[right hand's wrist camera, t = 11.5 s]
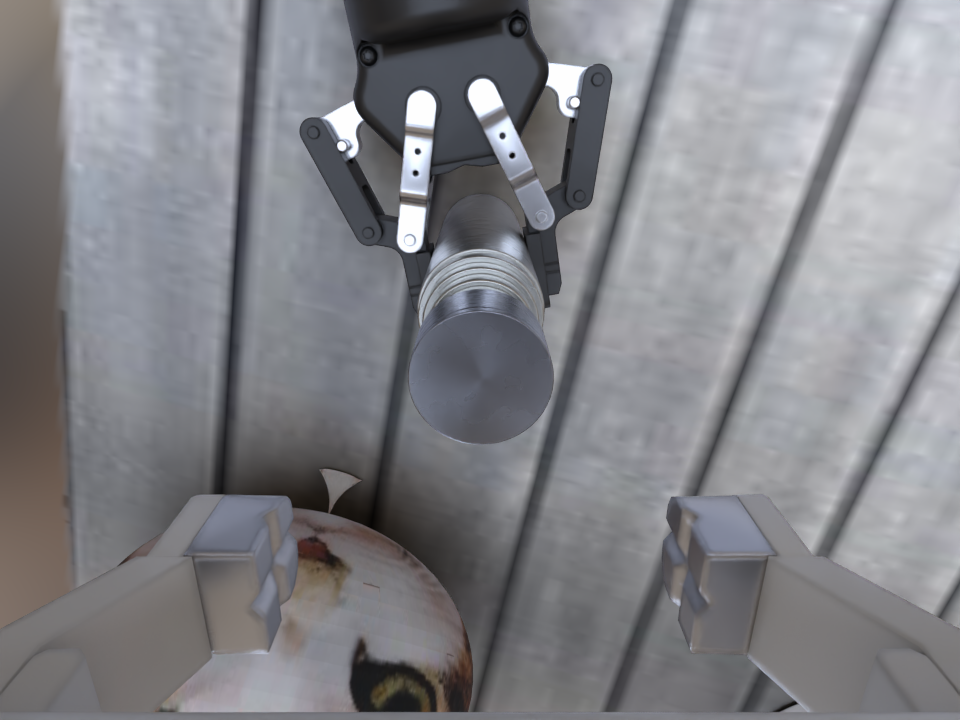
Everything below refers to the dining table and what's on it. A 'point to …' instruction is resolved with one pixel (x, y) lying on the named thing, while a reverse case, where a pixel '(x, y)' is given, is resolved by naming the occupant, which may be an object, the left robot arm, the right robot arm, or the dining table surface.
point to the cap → (480, 367)
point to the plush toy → (345, 632)
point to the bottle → (480, 256)
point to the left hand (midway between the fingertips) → (490, 310)
